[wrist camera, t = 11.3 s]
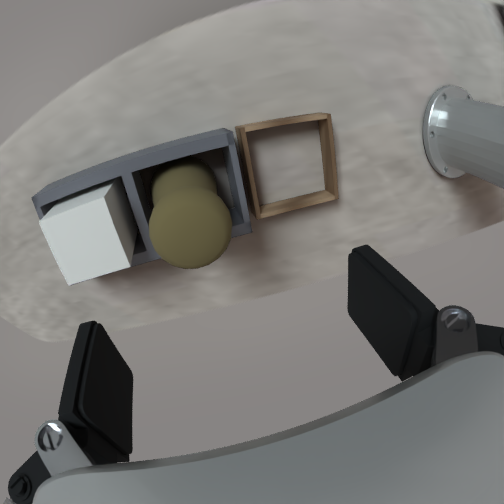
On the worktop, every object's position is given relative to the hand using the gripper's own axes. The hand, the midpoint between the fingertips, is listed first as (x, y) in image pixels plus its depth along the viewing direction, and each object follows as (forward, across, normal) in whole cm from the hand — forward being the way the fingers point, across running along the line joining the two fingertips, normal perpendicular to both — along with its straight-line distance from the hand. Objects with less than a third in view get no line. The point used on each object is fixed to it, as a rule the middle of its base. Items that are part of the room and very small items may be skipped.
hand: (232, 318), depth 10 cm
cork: (+19, +1, 0) cm, 19 cm away
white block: (+18, +9, 0) cm, 21 cm away
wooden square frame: (+19, -9, 0) cm, 21 cm away
